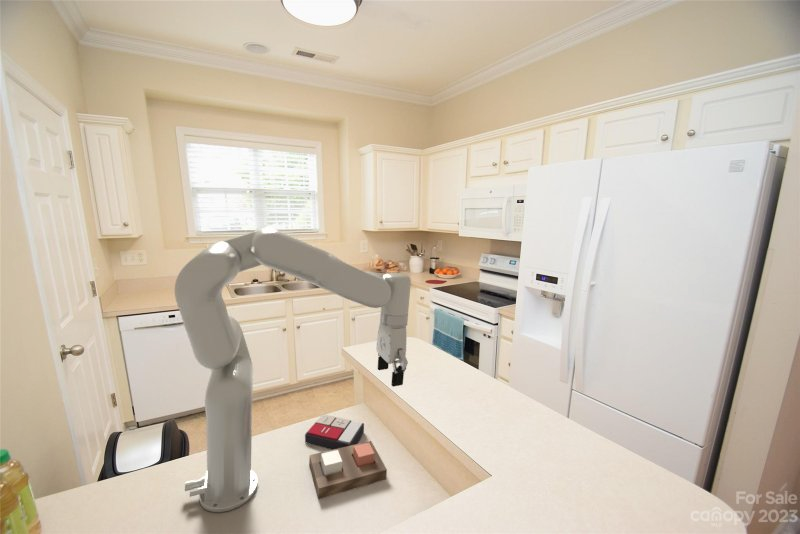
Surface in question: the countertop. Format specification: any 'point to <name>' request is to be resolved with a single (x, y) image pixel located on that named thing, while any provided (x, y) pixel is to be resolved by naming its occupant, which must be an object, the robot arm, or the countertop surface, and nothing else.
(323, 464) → the white key
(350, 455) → the key panel
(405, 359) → the robot arm
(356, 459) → the salmon pink key
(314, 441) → the calculator
